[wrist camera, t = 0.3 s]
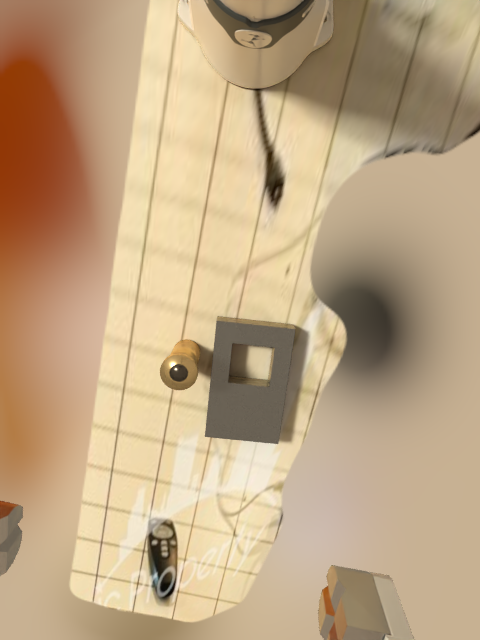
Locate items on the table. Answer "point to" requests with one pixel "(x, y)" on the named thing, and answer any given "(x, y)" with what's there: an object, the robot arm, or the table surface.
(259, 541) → the table surface
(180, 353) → the bushing
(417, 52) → the table surface
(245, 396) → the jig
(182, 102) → the table surface
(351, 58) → the table surface
